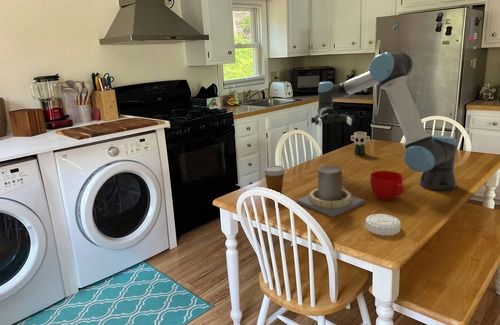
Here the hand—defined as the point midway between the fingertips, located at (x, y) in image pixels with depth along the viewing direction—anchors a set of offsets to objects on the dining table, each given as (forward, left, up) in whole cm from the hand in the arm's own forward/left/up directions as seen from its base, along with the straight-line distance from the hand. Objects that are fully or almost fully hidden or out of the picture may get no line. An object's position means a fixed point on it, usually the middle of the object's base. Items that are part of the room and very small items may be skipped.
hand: (335, 122), depth 174 cm
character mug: (+25, -52, -30) cm, 65 cm away
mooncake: (-41, +23, -30) cm, 56 cm away
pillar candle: (-13, +19, -29) cm, 37 cm away
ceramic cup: (-27, -2, -30) cm, 41 cm away
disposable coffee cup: (+12, +28, -30) cm, 43 cm away
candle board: (-13, +19, -30) cm, 38 cm away
